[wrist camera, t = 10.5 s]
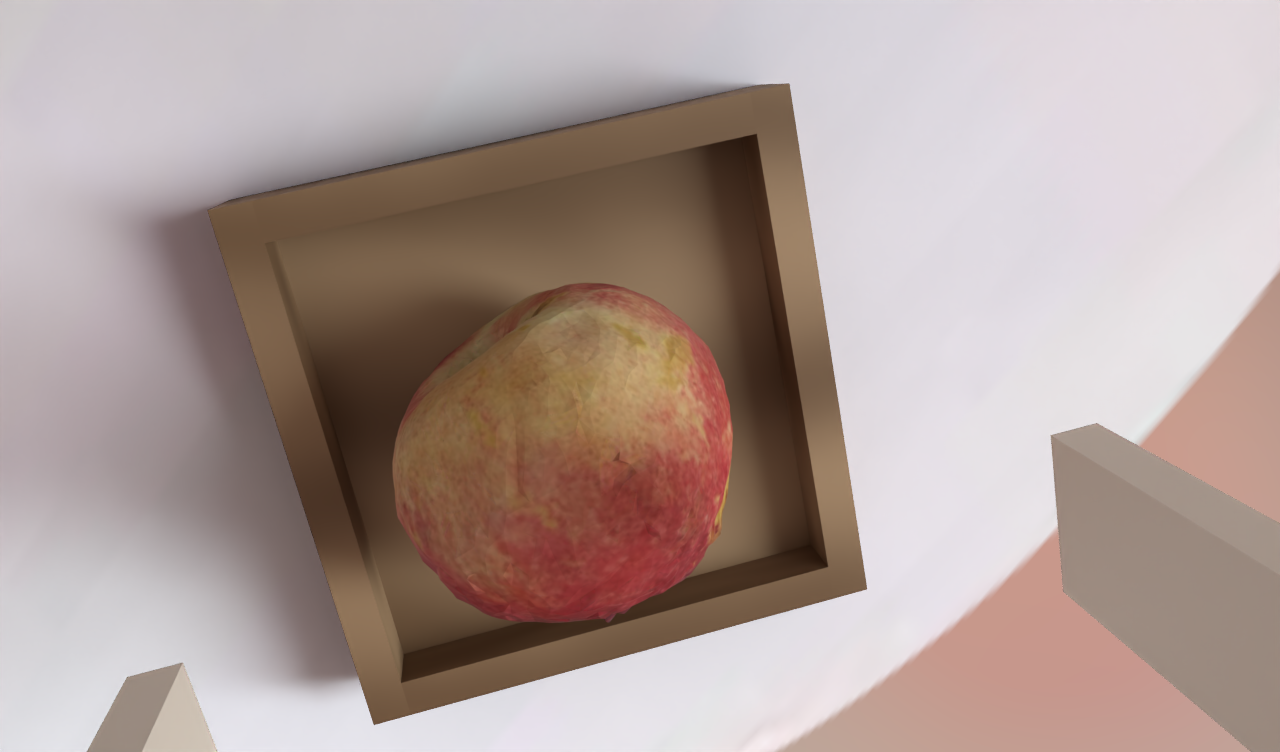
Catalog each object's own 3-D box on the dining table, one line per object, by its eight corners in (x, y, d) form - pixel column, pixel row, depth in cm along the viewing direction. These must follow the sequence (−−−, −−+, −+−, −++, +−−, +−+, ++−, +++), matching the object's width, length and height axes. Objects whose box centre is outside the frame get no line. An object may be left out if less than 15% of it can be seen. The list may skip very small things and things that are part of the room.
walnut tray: (230, 199, 26) (207, 210, 24) (760, 84, 28) (789, 83, 25) (380, 675, 30) (374, 724, 28) (836, 552, 32) (867, 589, 29)
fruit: (668, 234, 27) (750, 287, 20) (714, 499, 29) (805, 640, 22) (371, 296, 26) (338, 378, 19) (443, 565, 29) (438, 737, 21)
